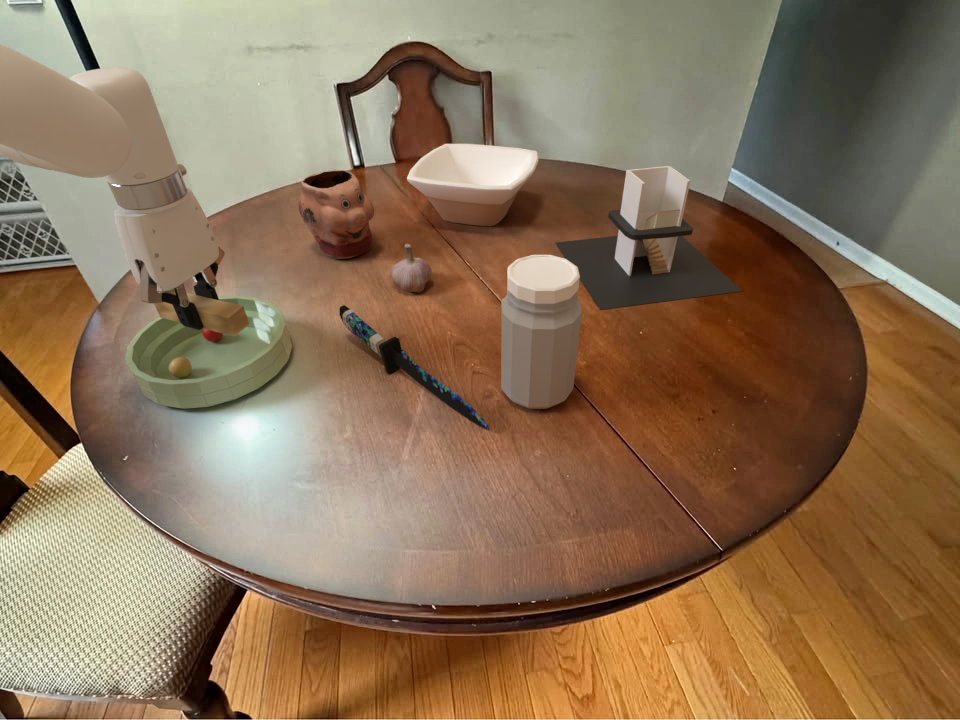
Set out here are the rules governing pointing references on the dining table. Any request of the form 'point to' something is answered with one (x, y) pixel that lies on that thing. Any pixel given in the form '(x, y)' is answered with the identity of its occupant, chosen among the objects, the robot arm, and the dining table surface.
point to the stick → (211, 314)
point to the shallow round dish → (210, 357)
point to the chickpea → (180, 367)
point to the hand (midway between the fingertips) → (203, 318)
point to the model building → (646, 248)
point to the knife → (406, 364)
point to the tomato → (211, 335)
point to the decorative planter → (337, 213)
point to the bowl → (473, 180)
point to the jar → (540, 331)
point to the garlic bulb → (411, 272)
